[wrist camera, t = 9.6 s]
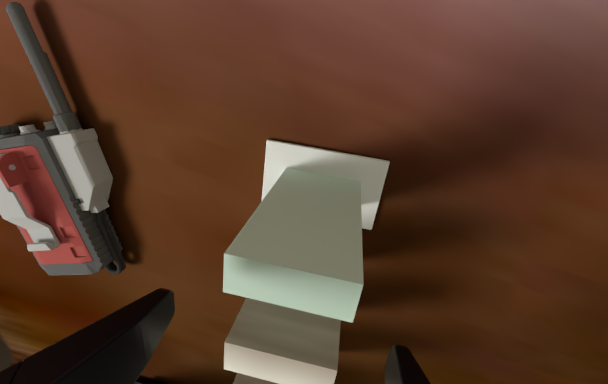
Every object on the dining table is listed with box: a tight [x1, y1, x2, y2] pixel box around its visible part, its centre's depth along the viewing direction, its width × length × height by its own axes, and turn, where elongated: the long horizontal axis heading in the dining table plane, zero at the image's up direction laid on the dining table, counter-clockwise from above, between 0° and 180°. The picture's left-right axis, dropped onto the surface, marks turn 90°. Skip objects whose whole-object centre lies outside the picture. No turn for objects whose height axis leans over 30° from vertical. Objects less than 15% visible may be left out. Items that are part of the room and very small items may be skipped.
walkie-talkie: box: [0, 2, 126, 275], centre depth 21 cm, size 9×4×20 cm
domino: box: [224, 298, 341, 384], centre depth 17 cm, size 2×5×10 cm, turn 82°
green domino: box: [223, 168, 364, 323], centre depth 15 cm, size 2×5×10 cm, turn 82°
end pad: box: [262, 139, 390, 230], centre depth 20 cm, size 5×8×1 cm, turn 82°
